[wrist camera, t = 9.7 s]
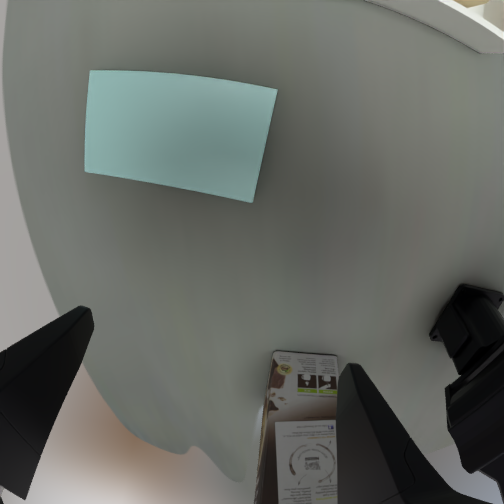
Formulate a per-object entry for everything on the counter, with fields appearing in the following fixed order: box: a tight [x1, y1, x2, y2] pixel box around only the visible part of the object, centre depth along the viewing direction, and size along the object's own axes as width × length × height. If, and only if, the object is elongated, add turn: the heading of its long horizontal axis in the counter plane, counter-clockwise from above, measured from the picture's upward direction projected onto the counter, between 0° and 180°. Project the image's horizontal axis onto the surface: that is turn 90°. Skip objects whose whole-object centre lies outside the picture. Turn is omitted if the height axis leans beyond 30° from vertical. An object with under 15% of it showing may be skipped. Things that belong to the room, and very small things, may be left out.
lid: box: [85, 70, 278, 203], centre depth 19 cm, size 12×7×2 cm, turn 79°
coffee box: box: [254, 351, 339, 504], centre depth 24 cm, size 9×6×16 cm
